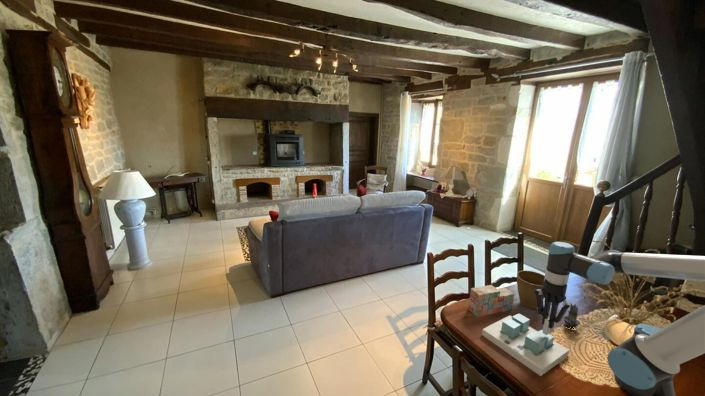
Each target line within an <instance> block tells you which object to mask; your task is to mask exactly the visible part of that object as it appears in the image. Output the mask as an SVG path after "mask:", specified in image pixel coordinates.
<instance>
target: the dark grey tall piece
mask: <svg viewBox="0 0 705 396" xmlns="http://www.w3.org/2000/svg"><path fill="white" fill-rule="evenodd" d="M567 312H568V315H566V316H565V315H564V316H563V320H564V323H563V324H562V326H563V327H564V326H565V327H567V328H570V327H571V328H570V329H572V328H573V327H576V328H577V327H578V326H579V325H580V321H579V320H578V318H577V317H578V315H579V313H578V312H579V307H578V306H577V304H572V306H571V307H569V310H567ZM565 327H564V328H565ZM567 328H566V329H567ZM573 329H574V328H573Z"/></svg>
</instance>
